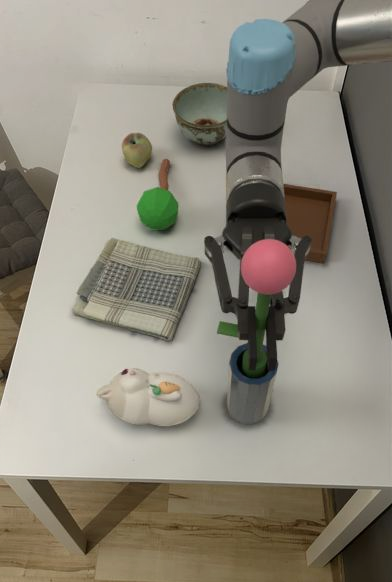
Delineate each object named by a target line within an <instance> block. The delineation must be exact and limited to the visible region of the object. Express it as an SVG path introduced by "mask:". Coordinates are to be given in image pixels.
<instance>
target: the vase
mask: <svg viewBox="0 0 392 582" xmlns="http://www.w3.org/2000/svg"><path fill="white" fill-rule="evenodd" d="M246 350H248V342H246V343H245V342H244V343H243V344H240V345H238V346H237V347H236V348H235V349H234V350H233V351H232V352H231V354H230V358H229V362H228V377H227V395H226V409H227V412H228V414H229V416H230V417H231V418H232V419H233V420H234V421H235V422H237V423H239V424H242V425H255V424H258V423H259V422H260V421H262V420H263V419H264V418H265V416H266V415H267V413H268V410H269V406H270V401H271V398H272V394H273V390H274V386H275V382H276V378H277V373H278V369H279V360H278V359H277V362H276V367H275V370H268V367H267V362H266V367H265V372H264V374H263V375H262V376H261V377H259V378H257V379H250V378H248V377H247V376H246V375H245V374H244V373H243V371H242V363H243V355H244V353H245V351H246ZM262 350H263V351H264V352H265V353H266V356H267V347H266V344H263V347H262Z"/></svg>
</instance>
